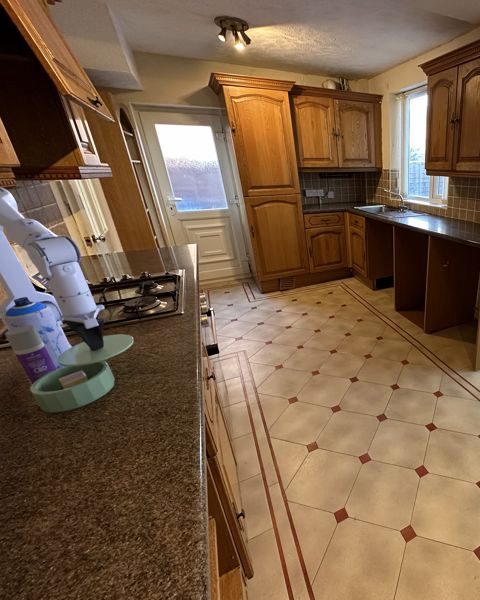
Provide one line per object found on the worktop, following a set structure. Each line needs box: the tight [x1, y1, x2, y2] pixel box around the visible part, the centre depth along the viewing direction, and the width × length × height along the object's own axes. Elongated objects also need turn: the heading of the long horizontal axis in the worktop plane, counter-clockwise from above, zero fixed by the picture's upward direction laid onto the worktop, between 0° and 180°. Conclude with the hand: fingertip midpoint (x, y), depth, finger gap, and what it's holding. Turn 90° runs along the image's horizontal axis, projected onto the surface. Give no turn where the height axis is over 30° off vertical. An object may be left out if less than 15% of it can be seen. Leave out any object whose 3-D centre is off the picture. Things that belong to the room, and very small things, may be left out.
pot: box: [29, 360, 116, 414], centre depth 73 cm, size 13×13×5 cm
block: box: [58, 370, 89, 389], centre depth 73 cm, size 4×4×4 cm
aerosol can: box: [4, 297, 69, 369], centre depth 79 cm, size 8×8×20 cm
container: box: [4, 326, 57, 386], centre depth 74 cm, size 5×5×15 cm
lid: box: [58, 333, 135, 366], centre depth 76 cm, size 14×14×5 cm
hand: (96, 346), depth 76 cm, fingers closed on lid, 2 cm apart
